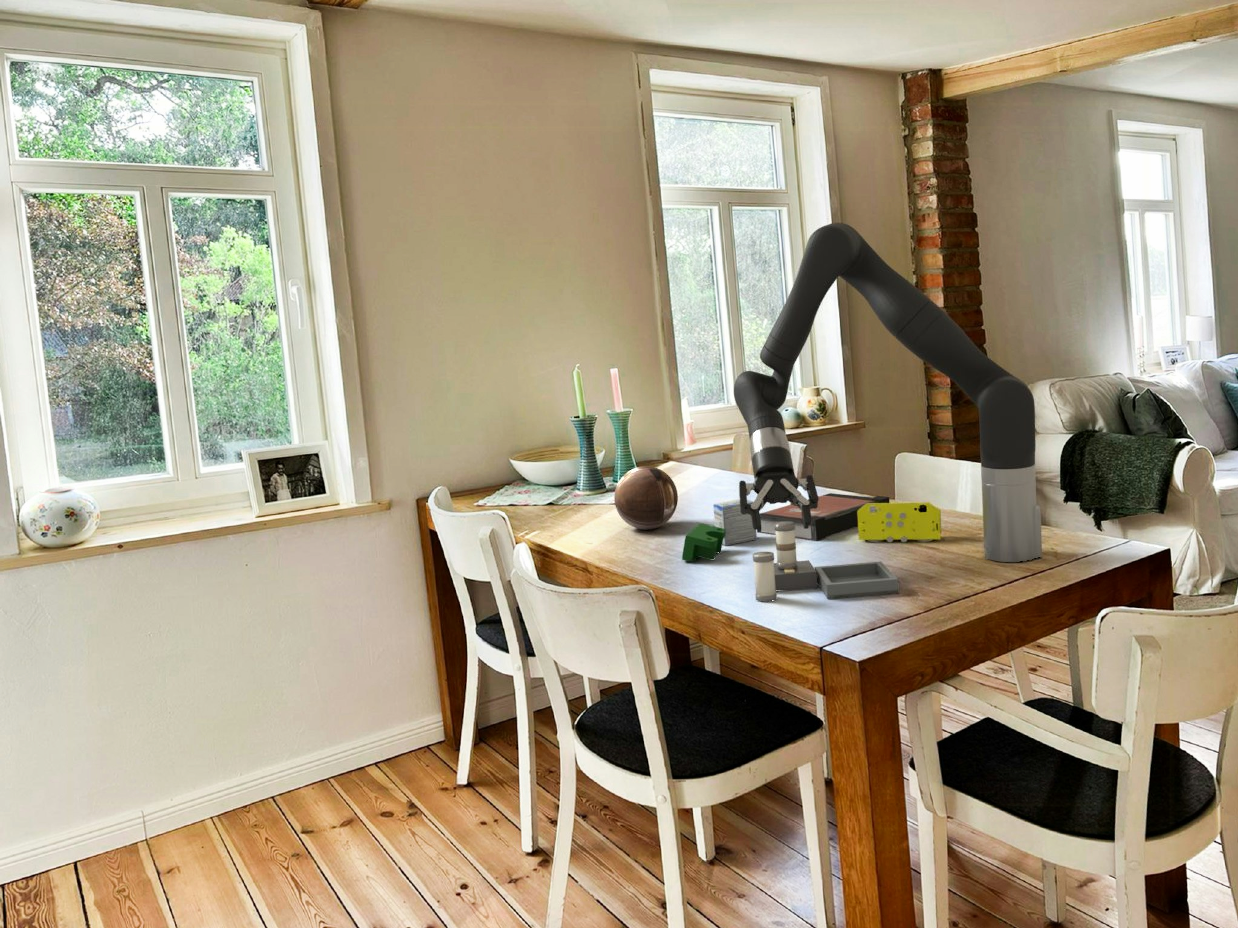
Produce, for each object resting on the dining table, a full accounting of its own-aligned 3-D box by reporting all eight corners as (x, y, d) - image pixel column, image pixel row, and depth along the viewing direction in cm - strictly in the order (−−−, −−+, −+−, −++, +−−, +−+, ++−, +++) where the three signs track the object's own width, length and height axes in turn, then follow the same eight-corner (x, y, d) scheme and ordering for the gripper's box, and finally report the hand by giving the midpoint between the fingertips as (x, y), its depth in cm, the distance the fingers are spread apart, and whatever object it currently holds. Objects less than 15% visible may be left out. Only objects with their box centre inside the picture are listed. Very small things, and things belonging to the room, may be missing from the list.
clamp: (709, 581, 200) (711, 547, 195) (681, 574, 202) (682, 540, 197) (726, 546, 209) (728, 512, 204) (699, 540, 211) (701, 506, 206)
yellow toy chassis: (858, 544, 203) (856, 504, 201) (861, 537, 208) (859, 498, 207) (940, 543, 197) (938, 502, 196) (941, 536, 202) (939, 497, 201)
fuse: (775, 595, 172) (772, 550, 171) (778, 601, 169) (775, 555, 167) (754, 596, 172) (751, 552, 171) (757, 602, 169) (753, 557, 167)
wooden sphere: (607, 529, 238) (601, 468, 236) (662, 518, 244) (656, 459, 242) (634, 539, 225) (628, 474, 222) (691, 528, 231) (686, 465, 228)
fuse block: (809, 576, 182) (808, 559, 181) (817, 587, 174) (816, 570, 174) (760, 580, 182) (759, 563, 182) (766, 592, 174) (765, 574, 174)
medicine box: (747, 536, 217) (744, 498, 216) (757, 540, 213) (754, 501, 212) (715, 542, 215) (712, 503, 213) (725, 546, 210) (722, 506, 209)
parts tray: (881, 574, 178) (880, 561, 178) (898, 593, 167) (898, 579, 166) (815, 580, 179) (814, 566, 179) (827, 599, 167) (826, 584, 167)
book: (828, 511, 237) (827, 490, 237) (890, 518, 224) (889, 497, 223) (755, 534, 221) (753, 512, 220) (816, 543, 208) (815, 520, 207)
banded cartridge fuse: (795, 563, 179) (792, 520, 178) (798, 568, 176) (796, 524, 175) (776, 565, 179) (773, 522, 178) (778, 570, 176) (775, 526, 175)
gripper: (734, 448, 185) (744, 520, 176) (809, 441, 185) (824, 513, 175) (733, 471, 191) (743, 542, 182) (807, 465, 191) (820, 536, 181)
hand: (783, 528), depth 178 cm, fingers open, 8 cm apart
